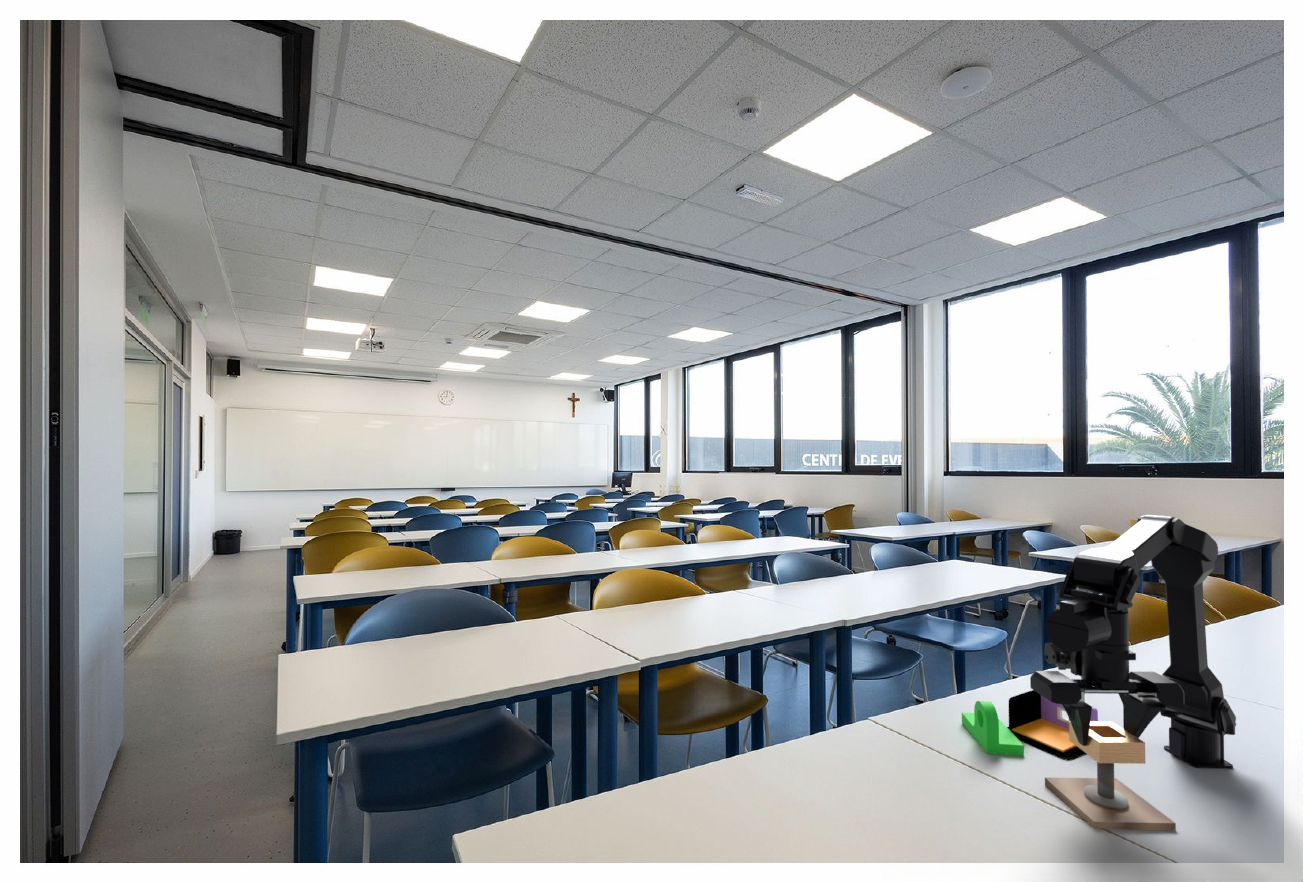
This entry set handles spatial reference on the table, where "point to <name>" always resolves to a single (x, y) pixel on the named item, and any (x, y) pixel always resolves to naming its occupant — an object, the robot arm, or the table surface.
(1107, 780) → the post stand
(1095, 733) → the wooden collar
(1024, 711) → the toy room diorama
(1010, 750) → the mechanical part
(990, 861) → the table surface
